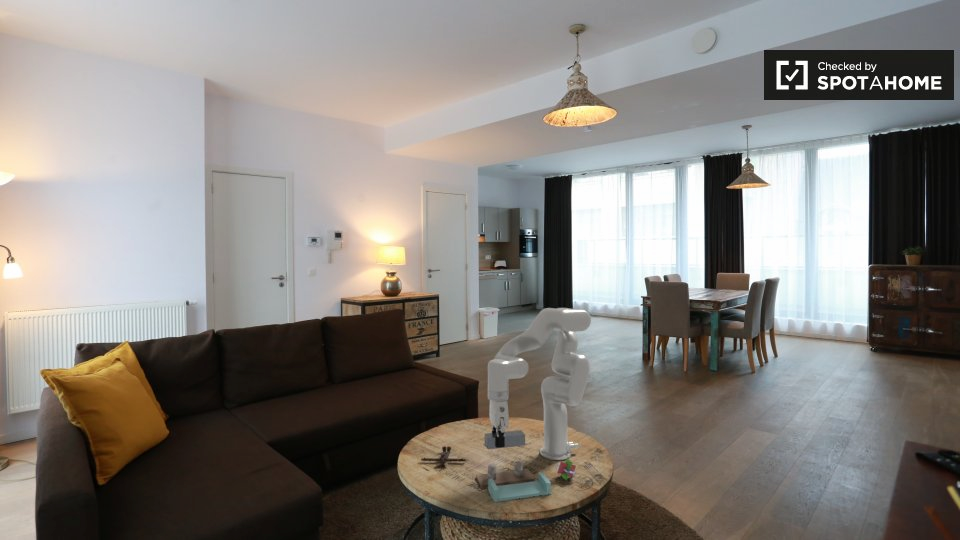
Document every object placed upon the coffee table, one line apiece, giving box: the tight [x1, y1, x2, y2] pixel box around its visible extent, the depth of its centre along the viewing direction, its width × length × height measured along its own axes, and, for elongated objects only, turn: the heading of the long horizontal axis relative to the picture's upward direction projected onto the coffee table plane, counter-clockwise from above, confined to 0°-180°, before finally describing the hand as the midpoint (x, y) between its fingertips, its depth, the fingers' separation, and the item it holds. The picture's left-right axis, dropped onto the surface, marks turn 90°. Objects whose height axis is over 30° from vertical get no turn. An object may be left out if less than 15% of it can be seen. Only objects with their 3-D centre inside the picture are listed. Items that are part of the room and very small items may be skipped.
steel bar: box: [484, 429, 526, 450], centre depth 171 cm, size 14×4×4 cm, turn 104°
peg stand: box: [475, 460, 536, 489], centre depth 172 cm, size 20×8×6 cm, turn 103°
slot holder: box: [487, 471, 552, 503], centre depth 162 cm, size 20×8×4 cm, turn 103°
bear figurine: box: [420, 445, 467, 468], centre depth 188 cm, size 18×4×14 cm
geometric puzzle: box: [555, 458, 577, 482], centre depth 172 cm, size 7×7×8 cm
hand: (498, 443), depth 170 cm, fingers closed on steel bar, 4 cm apart
